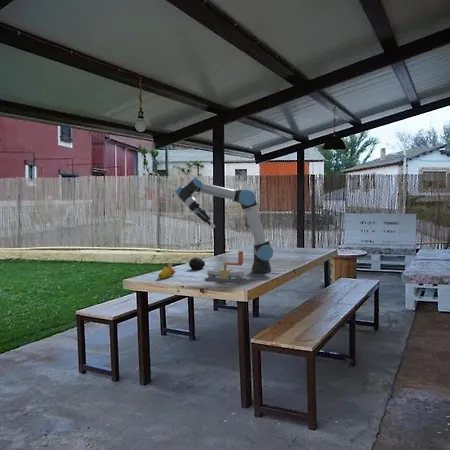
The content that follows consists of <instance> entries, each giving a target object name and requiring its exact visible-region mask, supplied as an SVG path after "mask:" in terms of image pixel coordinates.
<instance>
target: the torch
mask: <svg viewBox="0 0 450 450" xmlns="http://www.w3.org/2000/svg"><path fill="white" fill-rule="evenodd" d="M176 272H177V271H176V270H175V268H173V265H172V261H171V262H170V263H168V264H167V266H164V267H163V268H162V269H161V272H159V273H158V278H159V279H166V278H170V277H171V276H174V274H176Z"/></svg>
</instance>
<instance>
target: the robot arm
mask: <svg viewBox="0 0 450 450" xmlns="http://www.w3.org/2000/svg"><path fill="white" fill-rule="evenodd" d="M195 192H197V193H199V194H200V193H201V194H205V195H210V196H215V197H219V198H223V199H227V200H231V201H232V202H234V203H238V204H240V207H241V211H244V212H245V215H246V219H247V222H248V225H249V228H250V231H251V234H252V237H253V241H254V242H253V246H252V247H253V262H252V266H251V272H252V273H263V274H264V273H265V274H266V273H271V272H272V266H271V263H270V259H271V258H272V257H273V256H274V248H273V247H272V245H271V243H270V240H269V239H268V238H267V237H266V234H265V231H264V228H263V225H262V221H261V218H260V216H259V212H258V210H257V209H258V207H257V206H258V202H257V199H256V197H257V196H256V194H255V192H254V191H253V190H252V189H248V188H245V189H237V188H234V189H233V188H232V189H231V188H227V187H223V186H218V185H213V184H209V183H206V182H202V181H201V179H199V178H198V177H197V176H196V177H194V178H192V179H191V180H190V181H189V182H188V183H187V184H186V185H185V186H183V185H181V186H179V187H178V188H177V189H176V191H175V195H177V196H178V198H179V199H180V200H181V201H182V202H183V203H184V204H185V206H186V207H188V208H189V210H190V211H191V212H193V213H194V214H195V215H196V216H197V217H198V218H199V219H200V220H201V221H203V222H204V223H205V224H207V225H208V226H209V227H210V228H211V230H213V229H215V228H216V225H215V224H214V223H213V222H212V221H211V218H210V217H209V215H208V214H207V213H206V211H205V209H202V207H200V205H201V204H200V203H199V202H198V201H197V200H196V198H195V197H194V196H193V194H194V193H195Z"/></svg>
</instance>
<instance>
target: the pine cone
mask: <svg viewBox="0 0 450 450" xmlns="http://www.w3.org/2000/svg"><path fill="white" fill-rule="evenodd" d="M205 265H206V262H205V261H204V260H203V259H202V258H201V257H193V258H191V259H189V261H188V266H189V267H190V271H201V270H204V269H205V268H204V267H205Z"/></svg>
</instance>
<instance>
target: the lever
mask: <svg viewBox="0 0 450 450" xmlns="http://www.w3.org/2000/svg"><path fill="white" fill-rule="evenodd" d="M237 254H238V255H237V256H238V257H237V258H238V259H237V261H238V262H232V261H231V262H230V261H229V262H228V261H223V262H222V265H223V266H224V265H227V266H243V264H244V251H241V250H240V251H239V250H238V253H237Z"/></svg>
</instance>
